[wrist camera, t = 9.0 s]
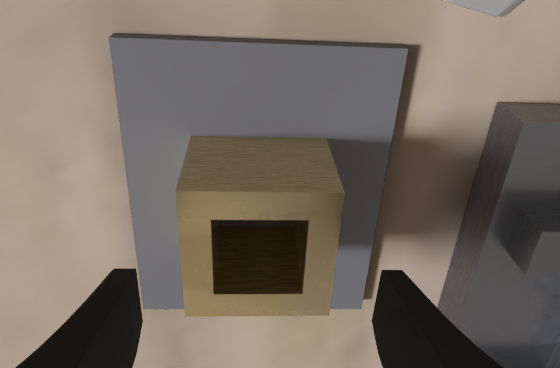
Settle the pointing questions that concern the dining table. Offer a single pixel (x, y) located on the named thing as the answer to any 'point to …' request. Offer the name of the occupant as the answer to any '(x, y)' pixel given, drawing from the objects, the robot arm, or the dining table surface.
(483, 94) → the dining table surface
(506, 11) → the hinge
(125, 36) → the mat
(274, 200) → the collar
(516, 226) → the vise
